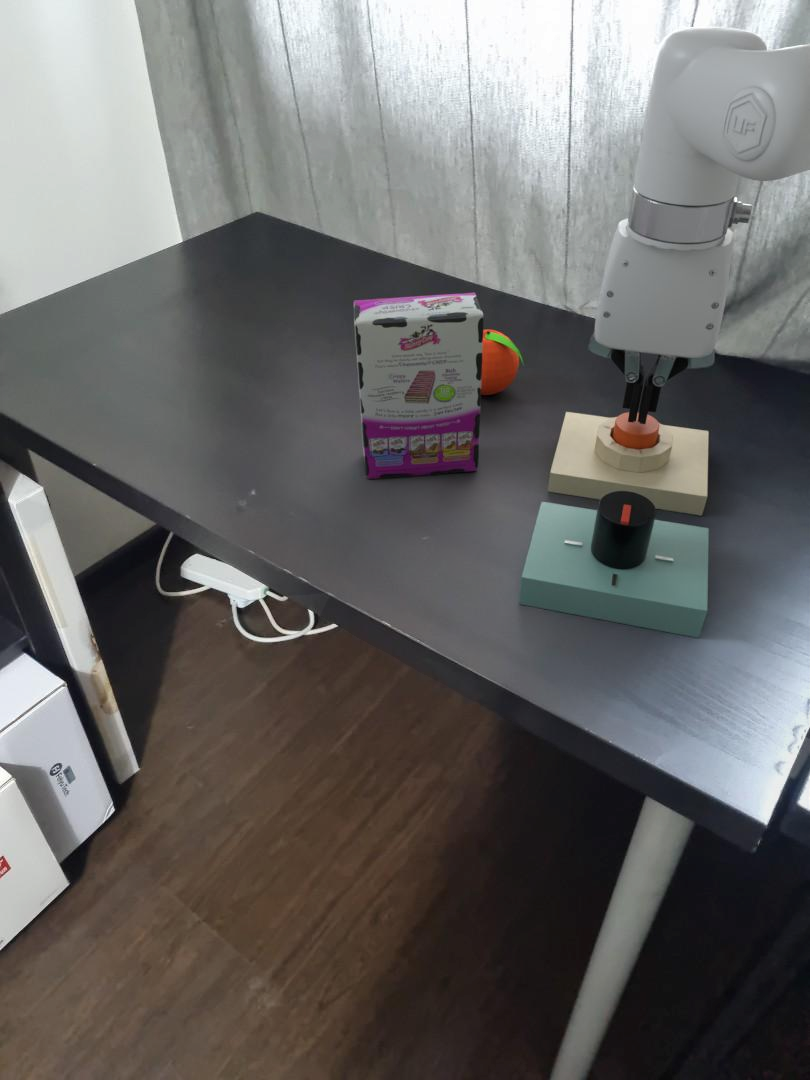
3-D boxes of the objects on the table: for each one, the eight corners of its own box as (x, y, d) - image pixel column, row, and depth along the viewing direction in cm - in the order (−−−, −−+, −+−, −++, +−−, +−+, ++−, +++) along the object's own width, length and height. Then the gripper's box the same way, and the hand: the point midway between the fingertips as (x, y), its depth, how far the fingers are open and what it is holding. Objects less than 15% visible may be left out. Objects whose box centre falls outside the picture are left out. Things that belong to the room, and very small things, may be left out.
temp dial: (594, 529, 69) (602, 483, 66) (648, 539, 68) (659, 492, 65) (587, 563, 66) (595, 516, 62) (643, 574, 65) (654, 527, 61)
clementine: (536, 389, 92) (542, 330, 87) (504, 416, 88) (509, 356, 83) (475, 369, 96) (478, 311, 91) (442, 394, 91) (443, 335, 87)
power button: (657, 430, 79) (660, 414, 78) (654, 453, 76) (658, 437, 75) (614, 424, 80) (617, 409, 79) (610, 447, 77) (613, 431, 76)
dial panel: (701, 555, 71) (709, 526, 69) (698, 638, 63) (708, 609, 61) (538, 527, 74) (541, 499, 72) (518, 604, 67) (521, 575, 64)
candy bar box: (470, 444, 84) (477, 290, 73) (478, 473, 80) (487, 314, 70) (361, 451, 83) (352, 296, 73) (363, 480, 79) (354, 322, 69)
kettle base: (703, 449, 83) (712, 415, 80) (702, 516, 75) (712, 480, 72) (563, 429, 86) (568, 396, 83) (547, 491, 78) (552, 456, 75)
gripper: (777, 206, 65) (721, 406, 77) (587, 190, 69) (562, 384, 81) (782, 241, 60) (721, 450, 72) (576, 222, 63) (550, 425, 75)
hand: (637, 415), depth 76 cm, fingers closed
